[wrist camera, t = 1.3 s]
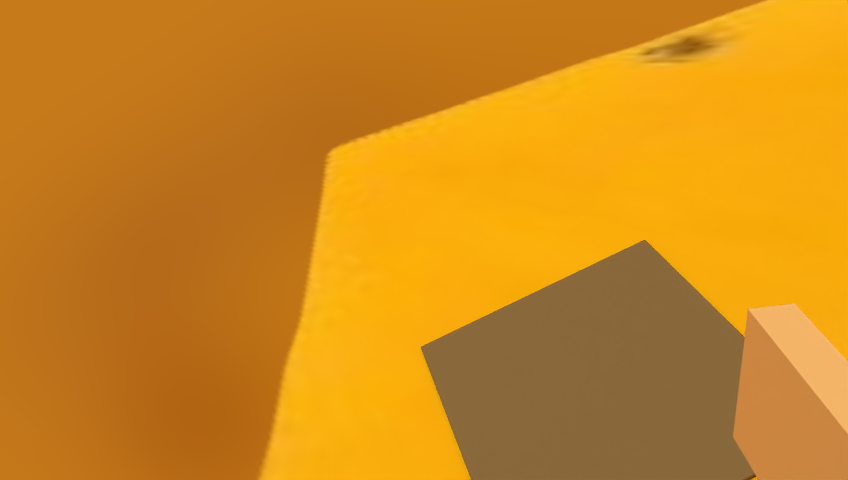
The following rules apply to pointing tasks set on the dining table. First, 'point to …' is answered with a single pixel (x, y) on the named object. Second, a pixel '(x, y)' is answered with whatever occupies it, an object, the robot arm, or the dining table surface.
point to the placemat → (597, 380)
